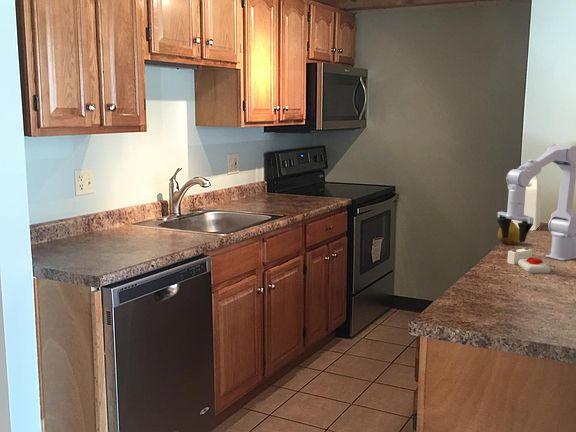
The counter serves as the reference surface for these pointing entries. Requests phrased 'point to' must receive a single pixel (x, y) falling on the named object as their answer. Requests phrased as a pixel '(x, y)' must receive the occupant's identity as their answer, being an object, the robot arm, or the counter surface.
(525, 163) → the robot arm
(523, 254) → the ledger strip
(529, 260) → the icon
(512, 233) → the fruit
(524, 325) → the counter surface
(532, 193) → the milk
